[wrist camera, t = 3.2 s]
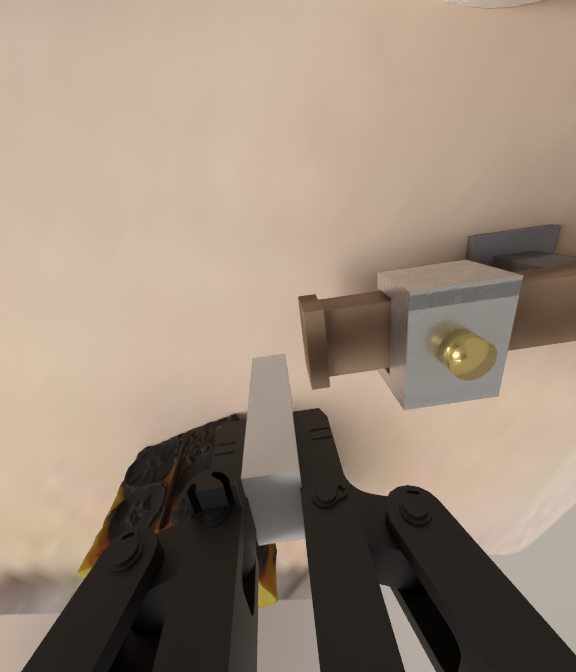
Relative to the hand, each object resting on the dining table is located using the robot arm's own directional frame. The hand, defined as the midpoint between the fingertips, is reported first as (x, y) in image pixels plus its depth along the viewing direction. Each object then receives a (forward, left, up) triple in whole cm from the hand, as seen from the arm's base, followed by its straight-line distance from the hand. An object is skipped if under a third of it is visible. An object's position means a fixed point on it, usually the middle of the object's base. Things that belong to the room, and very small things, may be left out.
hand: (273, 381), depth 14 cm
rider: (0, +9, -4) cm, 10 cm away
